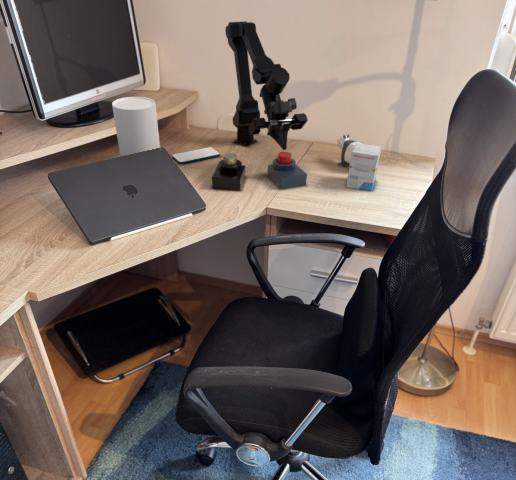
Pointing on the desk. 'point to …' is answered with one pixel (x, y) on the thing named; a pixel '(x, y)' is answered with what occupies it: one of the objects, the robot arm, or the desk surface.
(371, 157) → the ink box
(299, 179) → the box
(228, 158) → the light button
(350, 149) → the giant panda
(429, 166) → the desk surface
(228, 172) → the light box
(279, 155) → the button
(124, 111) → the canister
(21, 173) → the desk surface
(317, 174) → the desk surface
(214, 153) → the smartphone
